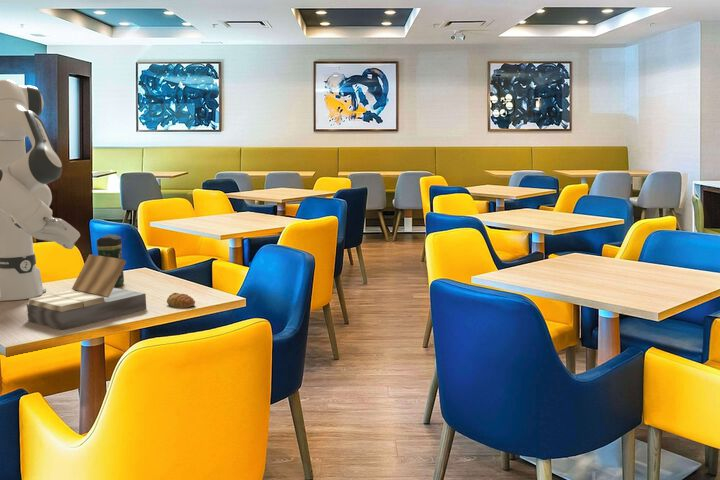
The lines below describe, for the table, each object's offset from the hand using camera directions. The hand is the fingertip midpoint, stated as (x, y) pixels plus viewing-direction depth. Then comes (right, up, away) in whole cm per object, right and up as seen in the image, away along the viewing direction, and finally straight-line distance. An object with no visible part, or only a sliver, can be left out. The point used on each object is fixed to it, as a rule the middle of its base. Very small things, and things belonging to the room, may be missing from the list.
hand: (70, 247), depth 202 cm
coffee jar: (-5, -15, +49) cm, 52 cm away
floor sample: (+3, -21, +7) cm, 22 cm away
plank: (+6, -9, +9) cm, 14 cm away
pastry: (+28, -19, +18) cm, 38 cm away
